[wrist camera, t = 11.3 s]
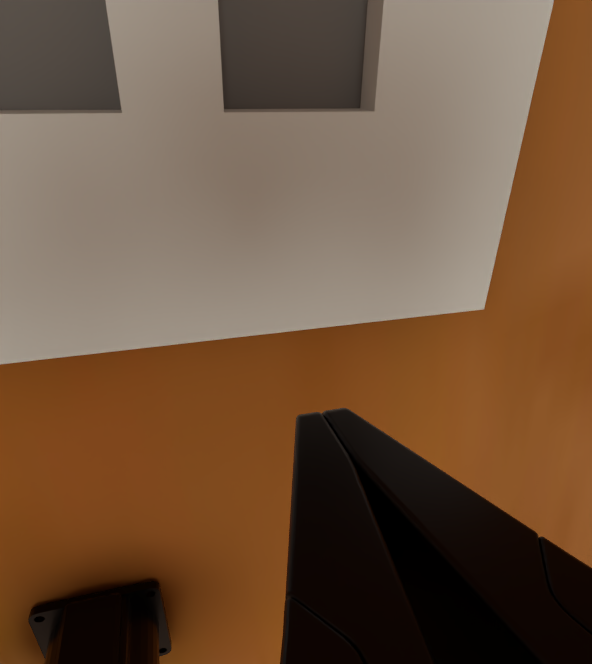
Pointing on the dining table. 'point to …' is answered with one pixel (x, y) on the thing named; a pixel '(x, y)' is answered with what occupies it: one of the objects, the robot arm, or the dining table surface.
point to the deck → (252, 164)
